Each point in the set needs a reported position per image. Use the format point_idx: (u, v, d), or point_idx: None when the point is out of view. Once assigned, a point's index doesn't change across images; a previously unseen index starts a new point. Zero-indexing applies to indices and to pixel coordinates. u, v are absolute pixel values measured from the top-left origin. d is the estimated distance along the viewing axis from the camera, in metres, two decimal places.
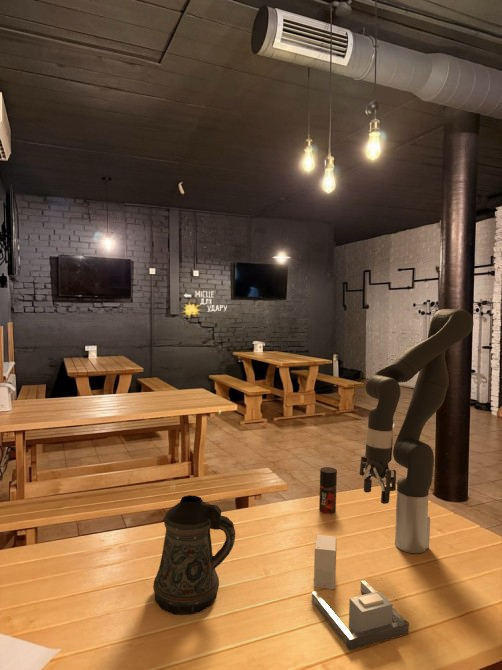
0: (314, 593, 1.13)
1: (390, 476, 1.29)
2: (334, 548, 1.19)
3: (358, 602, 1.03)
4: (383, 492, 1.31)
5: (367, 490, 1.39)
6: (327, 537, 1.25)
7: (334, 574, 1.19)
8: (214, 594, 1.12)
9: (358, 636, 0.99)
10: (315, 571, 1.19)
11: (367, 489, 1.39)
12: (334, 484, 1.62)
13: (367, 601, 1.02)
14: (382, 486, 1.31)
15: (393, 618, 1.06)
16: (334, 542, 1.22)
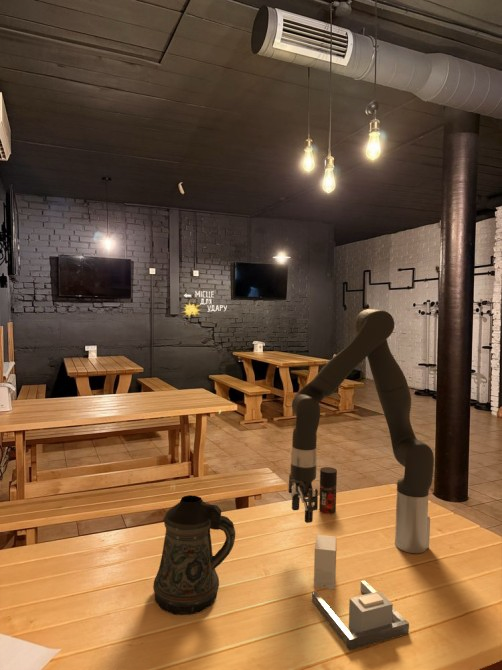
0: (314, 593, 1.13)
1: (311, 495, 1.28)
2: (334, 548, 1.19)
3: (358, 602, 1.03)
4: (306, 511, 1.31)
5: (295, 508, 1.39)
6: (327, 537, 1.25)
7: (334, 574, 1.19)
8: (214, 594, 1.12)
9: (358, 636, 0.99)
10: (315, 571, 1.19)
11: (295, 507, 1.39)
12: (334, 484, 1.62)
13: (367, 601, 1.02)
14: (305, 505, 1.31)
15: (393, 618, 1.06)
16: (334, 542, 1.22)
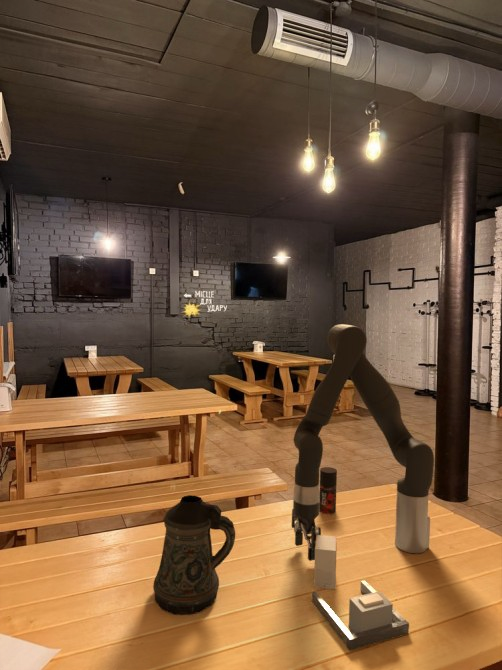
0: (314, 593, 1.13)
1: (314, 534, 1.27)
2: (334, 548, 1.19)
3: (358, 602, 1.03)
4: (309, 549, 1.29)
5: (298, 543, 1.38)
6: (327, 537, 1.25)
7: (334, 574, 1.18)
8: (214, 594, 1.12)
9: (358, 636, 0.99)
10: (315, 571, 1.19)
11: (298, 542, 1.37)
12: (334, 484, 1.62)
13: (367, 601, 1.02)
14: (308, 543, 1.29)
15: (393, 618, 1.06)
16: (334, 542, 1.22)
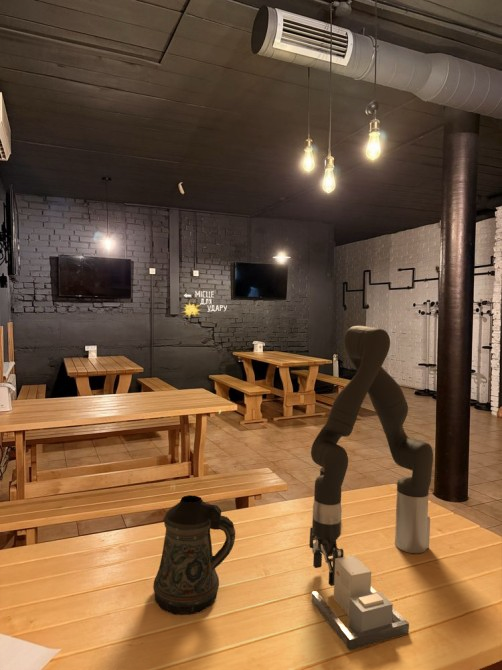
0: (314, 593, 1.13)
1: (337, 557, 1.15)
2: (367, 569, 1.10)
3: (358, 602, 1.03)
4: (330, 573, 1.17)
5: (317, 565, 1.26)
6: (348, 558, 1.14)
7: None
8: (214, 594, 1.12)
9: (358, 636, 0.99)
10: None
11: (317, 564, 1.26)
12: None
13: (367, 601, 1.02)
14: (329, 566, 1.17)
15: (393, 618, 1.06)
16: (360, 562, 1.13)
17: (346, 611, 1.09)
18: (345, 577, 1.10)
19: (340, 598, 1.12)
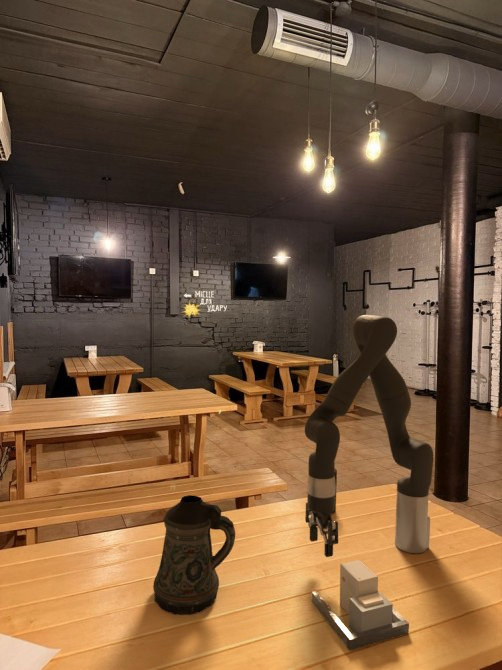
0: (314, 593, 1.13)
1: (331, 529, 1.19)
2: (373, 574, 1.08)
3: (358, 602, 1.03)
4: (326, 545, 1.21)
5: (313, 539, 1.29)
6: (353, 563, 1.12)
7: None
8: (214, 594, 1.12)
9: (358, 636, 0.99)
10: None
11: (313, 538, 1.29)
12: None
13: (367, 601, 1.02)
14: (325, 538, 1.21)
15: (393, 618, 1.06)
16: (365, 567, 1.11)
17: None
18: (352, 583, 1.08)
19: (347, 604, 1.10)
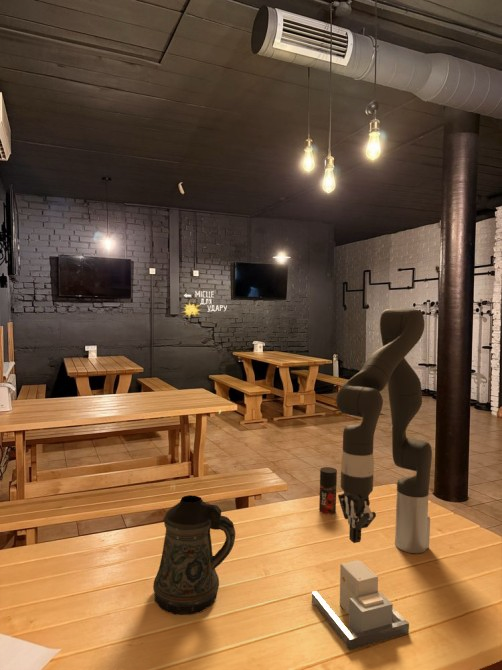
0: (314, 593, 1.13)
1: (366, 520, 1.04)
2: (373, 574, 1.08)
3: (358, 602, 1.03)
4: (353, 529, 1.08)
5: None
6: (353, 563, 1.12)
7: None
8: (214, 594, 1.12)
9: (358, 636, 0.99)
10: None
11: None
12: (334, 484, 1.62)
13: (367, 601, 1.02)
14: (353, 522, 1.08)
15: (393, 618, 1.06)
16: (365, 567, 1.11)
17: None
18: (352, 583, 1.08)
19: (347, 604, 1.10)
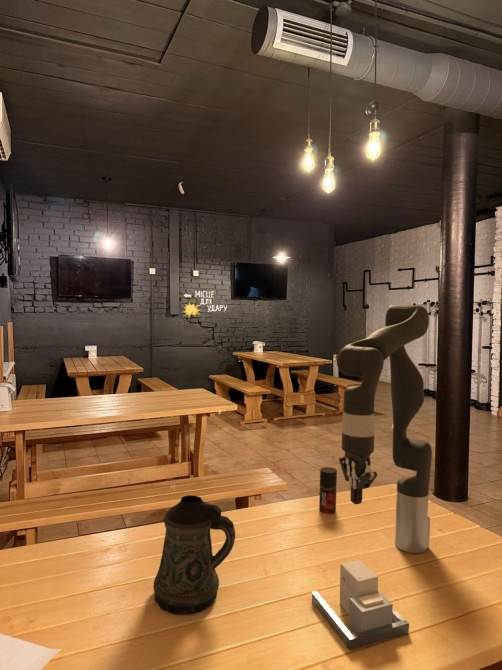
0: (314, 593, 1.13)
1: (367, 479, 1.03)
2: (373, 574, 1.08)
3: (358, 602, 1.03)
4: (354, 490, 1.08)
5: None
6: (353, 563, 1.12)
7: None
8: (214, 594, 1.12)
9: (358, 636, 0.99)
10: None
11: None
12: (334, 484, 1.62)
13: (367, 601, 1.02)
14: (354, 483, 1.07)
15: (393, 618, 1.06)
16: (365, 567, 1.11)
17: None
18: (352, 583, 1.08)
19: (347, 604, 1.10)
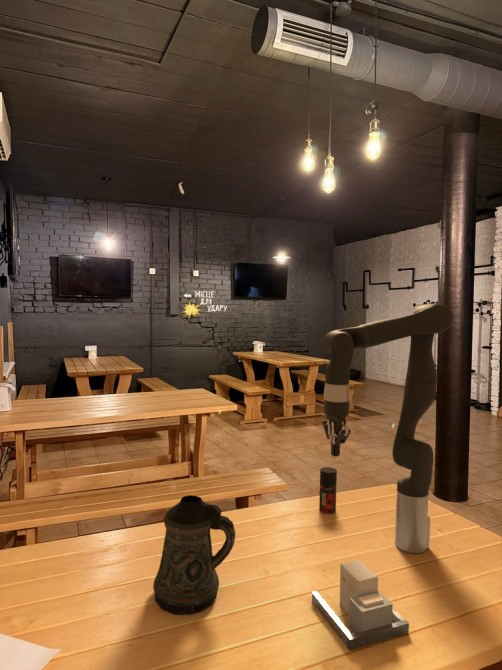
0: (314, 593, 1.13)
1: (343, 435, 1.31)
2: (373, 574, 1.08)
3: (358, 602, 1.03)
4: (334, 445, 1.36)
5: None
6: (353, 563, 1.12)
7: None
8: (214, 594, 1.12)
9: (358, 636, 0.99)
10: None
11: None
12: (334, 484, 1.62)
13: (367, 601, 1.02)
14: (333, 440, 1.35)
15: (393, 618, 1.06)
16: (365, 567, 1.11)
17: None
18: (352, 583, 1.08)
19: (347, 604, 1.10)
